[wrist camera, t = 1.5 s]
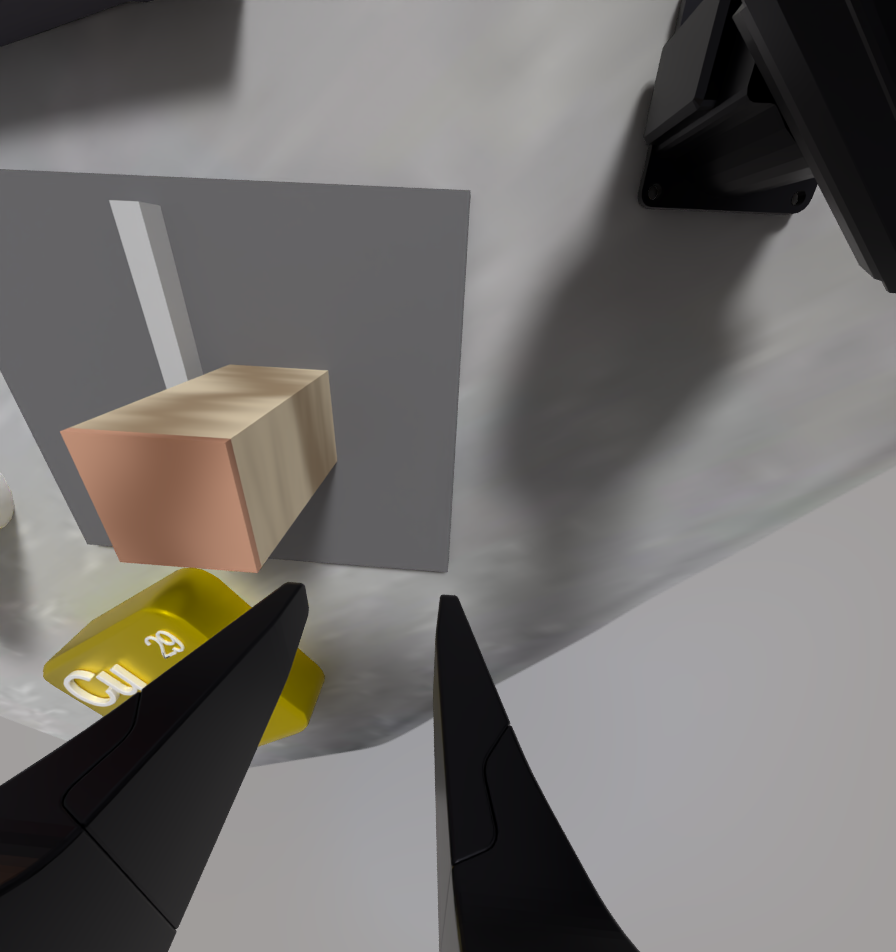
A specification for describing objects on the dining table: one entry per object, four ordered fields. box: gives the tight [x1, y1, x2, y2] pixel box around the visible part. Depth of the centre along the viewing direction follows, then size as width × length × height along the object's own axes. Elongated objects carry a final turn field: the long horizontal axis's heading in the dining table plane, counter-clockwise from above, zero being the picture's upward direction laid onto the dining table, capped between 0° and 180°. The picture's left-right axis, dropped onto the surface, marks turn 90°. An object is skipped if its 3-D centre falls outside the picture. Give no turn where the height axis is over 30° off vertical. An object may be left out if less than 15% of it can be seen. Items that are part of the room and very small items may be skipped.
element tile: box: [43, 568, 325, 747], centre depth 30 cm, size 15×15×5 cm
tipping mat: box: [0, 169, 470, 572], centre depth 20 cm, size 24×20×2 cm
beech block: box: [60, 364, 337, 573], centre depth 17 cm, size 5×5×9 cm
